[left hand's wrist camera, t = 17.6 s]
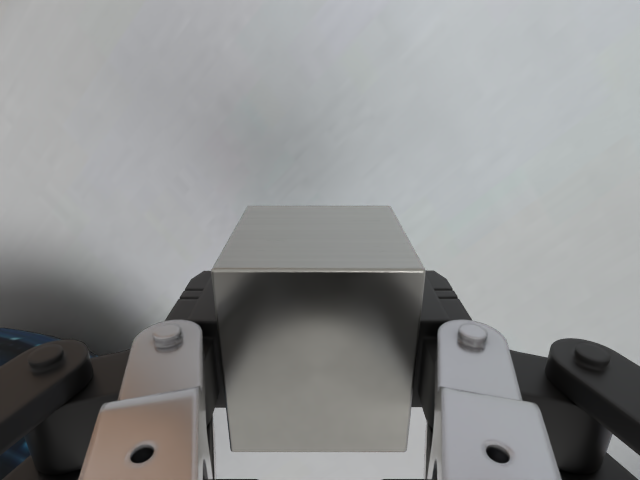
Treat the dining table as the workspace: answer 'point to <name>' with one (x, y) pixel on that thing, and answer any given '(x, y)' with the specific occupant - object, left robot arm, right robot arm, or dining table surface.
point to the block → (318, 329)
